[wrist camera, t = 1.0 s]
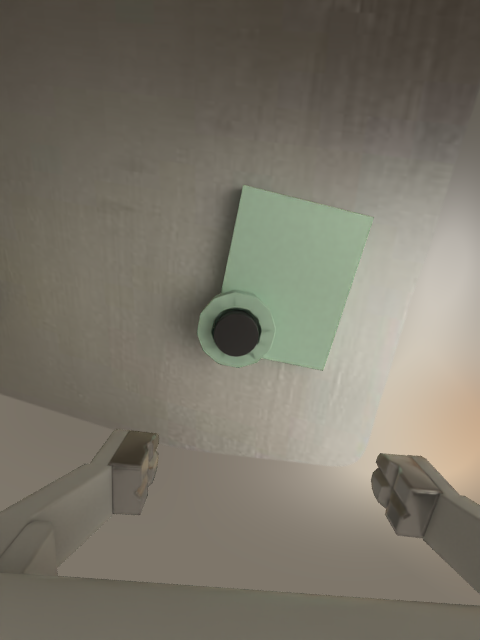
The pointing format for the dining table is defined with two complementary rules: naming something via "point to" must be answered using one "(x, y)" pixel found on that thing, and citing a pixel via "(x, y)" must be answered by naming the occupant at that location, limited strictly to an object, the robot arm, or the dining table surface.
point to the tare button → (236, 333)
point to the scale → (287, 277)
